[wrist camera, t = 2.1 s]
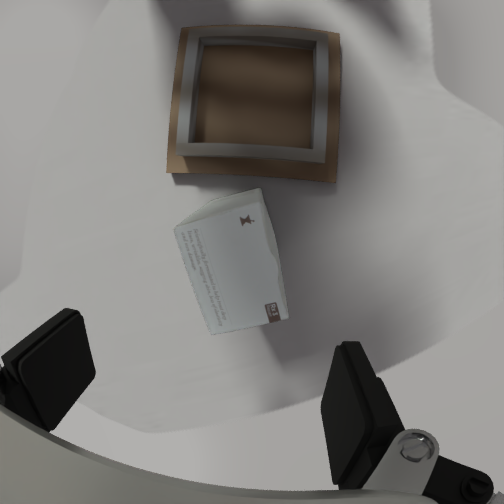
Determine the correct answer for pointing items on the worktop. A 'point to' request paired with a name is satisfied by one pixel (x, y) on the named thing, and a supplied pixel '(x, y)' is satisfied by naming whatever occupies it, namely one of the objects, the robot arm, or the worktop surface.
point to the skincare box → (234, 262)
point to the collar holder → (256, 102)
